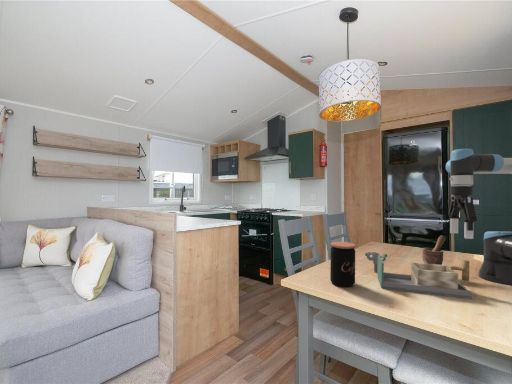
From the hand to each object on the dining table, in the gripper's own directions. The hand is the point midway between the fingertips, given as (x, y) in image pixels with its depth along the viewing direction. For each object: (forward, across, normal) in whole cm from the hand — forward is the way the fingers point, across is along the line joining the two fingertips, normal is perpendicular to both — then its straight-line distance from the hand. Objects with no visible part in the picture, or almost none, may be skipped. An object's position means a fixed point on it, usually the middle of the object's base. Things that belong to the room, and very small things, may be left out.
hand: (461, 235), depth 109 cm
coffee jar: (+23, +8, -48) cm, 54 cm away
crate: (+22, +1, -8) cm, 24 cm away
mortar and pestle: (+24, -19, -4) cm, 31 cm away
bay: (+23, +1, -16) cm, 28 cm away
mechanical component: (+23, -15, -31) cm, 42 cm away
